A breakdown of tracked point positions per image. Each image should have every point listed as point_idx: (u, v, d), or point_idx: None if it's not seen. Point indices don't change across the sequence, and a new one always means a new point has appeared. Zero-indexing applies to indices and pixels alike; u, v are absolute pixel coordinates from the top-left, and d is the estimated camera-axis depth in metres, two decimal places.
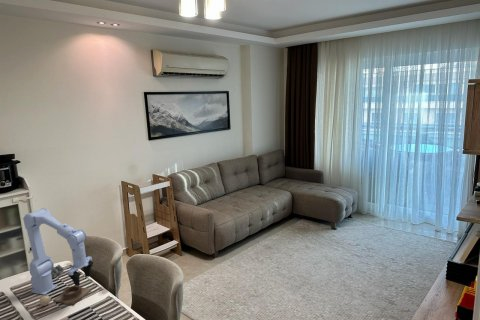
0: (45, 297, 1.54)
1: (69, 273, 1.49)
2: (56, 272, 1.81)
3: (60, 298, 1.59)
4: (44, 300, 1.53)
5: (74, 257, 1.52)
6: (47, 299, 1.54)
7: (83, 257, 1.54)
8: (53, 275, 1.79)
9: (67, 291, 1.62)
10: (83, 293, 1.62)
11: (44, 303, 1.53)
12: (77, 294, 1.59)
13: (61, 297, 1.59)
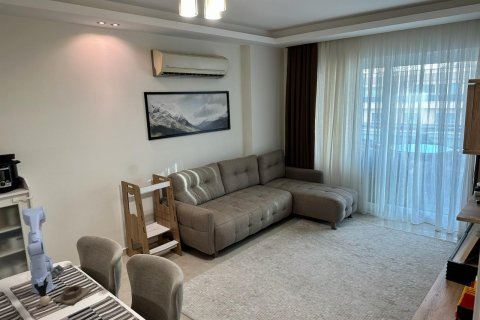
0: (45, 297, 1.54)
1: (40, 284, 1.46)
2: (56, 272, 1.81)
3: (60, 298, 1.59)
4: (44, 300, 1.53)
5: (31, 267, 1.50)
6: (47, 299, 1.54)
7: (45, 266, 1.53)
8: (53, 275, 1.79)
9: (67, 291, 1.62)
10: (83, 293, 1.62)
11: (44, 303, 1.53)
12: (77, 294, 1.59)
13: (61, 297, 1.59)
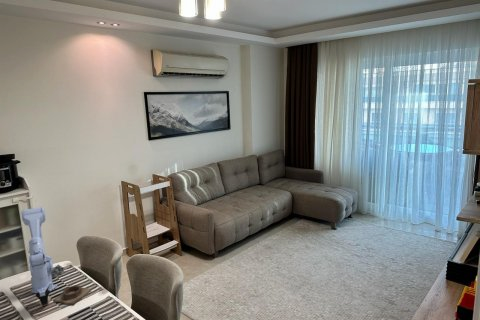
0: None
1: (41, 294, 1.48)
2: (57, 272, 1.81)
3: (60, 298, 1.59)
4: None
5: (33, 277, 1.51)
6: None
7: (47, 276, 1.54)
8: (54, 275, 1.79)
9: (67, 291, 1.62)
10: (83, 293, 1.62)
11: None
12: (77, 294, 1.59)
13: (61, 297, 1.59)
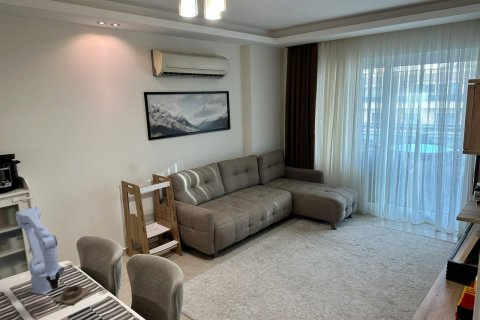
0: None
1: (52, 277, 1.49)
2: None
3: (60, 298, 1.59)
4: None
5: (44, 262, 1.52)
6: None
7: (57, 260, 1.55)
8: None
9: (67, 291, 1.62)
10: (83, 293, 1.62)
11: None
12: (77, 294, 1.59)
13: (61, 297, 1.59)
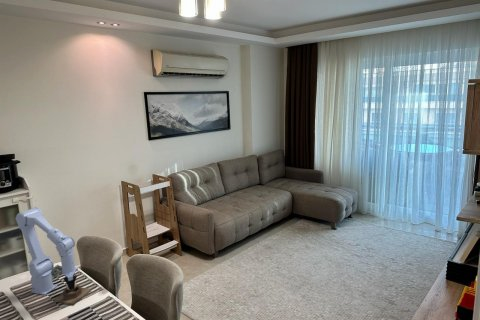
0: None
1: (70, 278, 1.53)
2: (58, 271, 1.81)
3: (60, 298, 1.59)
4: None
5: (63, 264, 1.55)
6: None
7: (74, 261, 1.59)
8: (56, 274, 1.80)
9: (67, 291, 1.62)
10: (83, 293, 1.62)
11: None
12: (77, 294, 1.59)
13: (61, 297, 1.59)
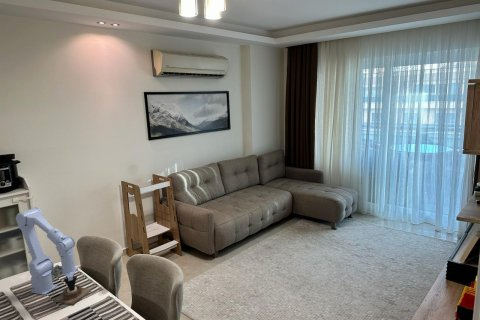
0: None
1: (70, 278, 1.53)
2: (59, 271, 1.82)
3: (60, 298, 1.59)
4: None
5: (63, 264, 1.55)
6: None
7: (74, 261, 1.59)
8: (57, 274, 1.80)
9: None
10: (83, 293, 1.62)
11: None
12: (77, 294, 1.59)
13: (61, 297, 1.59)
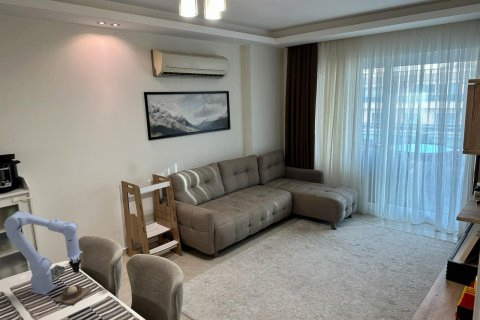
0: (73, 288, 1.60)
1: (74, 261, 1.61)
2: (59, 271, 1.82)
3: (60, 298, 1.59)
4: (72, 291, 1.59)
5: (71, 247, 1.64)
6: (75, 290, 1.60)
7: (78, 245, 1.68)
8: (57, 274, 1.80)
9: None
10: (83, 293, 1.62)
11: None
12: (77, 294, 1.59)
13: (61, 297, 1.59)
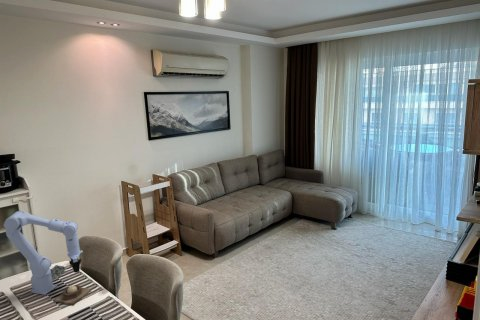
0: (73, 287, 1.60)
1: (75, 260, 1.62)
2: (60, 270, 1.82)
3: (60, 298, 1.59)
4: (72, 290, 1.59)
5: (71, 246, 1.64)
6: (75, 289, 1.60)
7: (78, 245, 1.68)
8: (58, 273, 1.81)
9: None
10: (83, 293, 1.62)
11: None
12: (77, 294, 1.59)
13: (61, 297, 1.59)
